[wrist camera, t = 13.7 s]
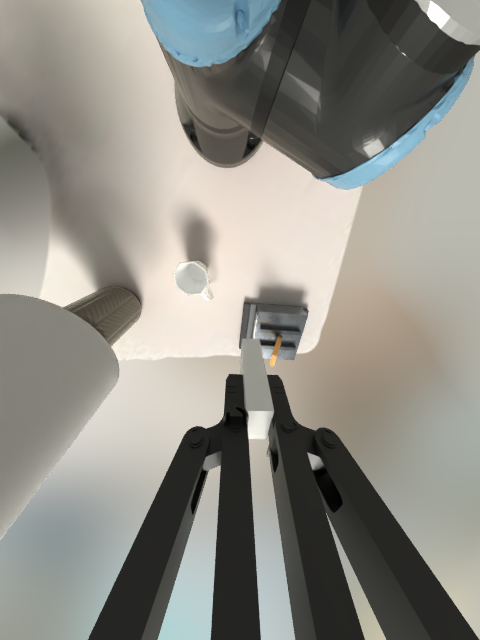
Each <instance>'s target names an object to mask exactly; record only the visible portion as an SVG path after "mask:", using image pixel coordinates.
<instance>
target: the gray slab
mask: <svg viewBox="0 0 480 640" xmlns="http://www.w3.org/2000/svg"><path fill="white" fill-rule="evenodd" d="M255 310H256V303H247V302H244V308H243V317H242V326H241V334H240V343H239V349H241V346H242V338H243V339H245V338H246V339H251V336H252V330H253V323H254V317H255ZM247 323H248V324H247Z"/></svg>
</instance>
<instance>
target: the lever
mask: <svg viewBox="0 0 480 640" xmlns="http://www.w3.org/2000/svg"><path fill="white" fill-rule="evenodd" d="M282 338H283V336H282V335H278V337H277V341H276V344H275V347H274V350H273V353H272V356H271V361H270V366H273V367H274V365H275V362H276V358H277V355H278V351H279V348H280V346H281V342H282Z"/></svg>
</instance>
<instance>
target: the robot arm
mask: <svg viewBox="0 0 480 640" xmlns="http://www.w3.org/2000/svg"><path fill="white" fill-rule="evenodd" d="M141 2H142V4H143V7H144V11H145V15H146V17H147V20H148V22H149V24H150V26H151V29H152V30H153V32H154V34H155V35H156V38H157V40H158V42H159V45H160V47H161V49H162V52H163V54H164V56H165V59H166V61H167V63H168V65H169V68H170V70H171V72H172V75H173V77H174V79H175V99H176V106H177V111H178V115H179V118H180V122H181V125H182V127H183V129H184V132H185V134H186V136H187V138H188V139H189V141H190V143H191V145H192V146H193V148H194V149H195V150H196V151H197V153H198V154H199V155H200V156H201V157H202V158H203V159H205V160H206V161H207V162H209V163H211V164H213V165H215V166H218V167H223V168H232V167H236V166H239V165H241V164H243V163H245V162H247V161H248V160H249V159H250V158H251V157H252V156H253V155H254V154H255V153H256V152H257V151H258V149H259V148H260V146H261V144H262V142H263V141H264V142H266V143H267V144H269V145H270V146H272V147H273V148H275V149H276V150H278V151H279V152H281V153H282V154H284V155H285V156H287V157H288V158H290V159H291V160H293V161H294V162H296V163H297V164H299V165H300V166H302V167H303V168H305V169H306V170H308V171H309V172H311V173H312V175H313V176H314V177H315V178H316V179H318V180H321V181H325V182H327V183H329V184H331V185H332V186H334V187H336V188H338V189H344V190H348V189H353V188H357V187H360V186H362V185H364V184H367V183H368V182H370V181H372V180H374V179H376V178H377V177H379V176H380V175H382V174H383V173H385V172H386V171H388V170H389V169H390V168H392V167H393V166H394V165H395V164H397V163H398V162H399V161H400V160H402V159H403V158H404V157H405V156H406V155H407V154H409V153H410V152H411V151H412V150H413V149H414V148H415V147H416V146H417V145H418V144H419V143H420V142H421V141H422V140H423V139H424V138H425V132H426V131H427V130H428V129H429V128H431V127H432V126H433V125H436V124H437V123H439V122H440V121H441V119H442V118H443V117H444V116H445V115H446V114H447V112H448V111H449V110H450V108H451V107H452V106H453V105H454V103H455V102H456V100H457V99H458V97H459V96H460V94H461V92H462V91H463V89H464V87H465V85H466V84H467V82H468V80H469V78H470V75H471V73H472V69H473V66H474V57H475V54H476V53H477V52H478V51H479V50H480V0H141ZM240 372H241V374H239V375H237V374H229V376H228V377H227V379H226V389H225V406H224V416H223V418H222V420H221V421H220V422H219V423H218V424H217V425H215V426H213V427H210V428H207V429H205V428H203V427H199V426H196V427H193V428H191V429H190V430H188V431H187V432H186V434H185V435H184V437H183V439H182V441H181V443H180V445H179V448H178V450H177V452H176V454H175V456H174V458H173V460H172V462H171V465H170V467H169V469H168V471H167V473H166V475H165V477H164V479H163V482H162V484H161V486H160V488H159V490H158V492H157V494H156V496H155V499H154V501H153V503H152V505H151V507H150V509H149V511H148V513H147V516H146V518H145V520H144V522H143V524H142V526H141V528H140V530H139V532H138V535H137V537H136V539H135V541H134V543H133V545H132V547H131V550H130V552H129V554H128V556H127V558H126V560H125V562H124V564H123V566H122V569H121V571H120V573H119V575H118V577H117V579H116V581H115V583H114V585H113V588H112V590H111V592H110V594H109V596H108V599H107V601H106V602H105V605H104V607H103V609H102V611H101V613H100V615H99V617H98V620H97V622H96V624H95V626H94V628H93V630H92V632H91V634H90V636H89V639H88V640H157V639H158V636H159V633H160V629H161V626H162V623H163V620H164V616H165V613H166V609H167V606H168V603H169V600H170V597H171V593H172V590H173V586H174V583H175V580H176V577H177V573H178V570H179V567H180V564H181V560H182V557H183V554H184V550H185V547H186V544H187V541H188V537H189V534H190V531H191V527H192V524H193V521H194V518H195V514H196V511H197V508H198V504H199V501H200V498H201V495H202V491H203V488H204V485H205V481H206V478H207V474H208V471H209V470H210V469H212V468H215V467H217V466H219V465H221V472H220V490H219V506H218V507H219V508H218V525H217V542H216V559H215V578H214V593H213V611H212V628H211V629H212V630H211V640H261V636H260V620H259V603H258V588H257V571H256V555H255V539H254V523H253V507H252V491H251V474H250V460H249V459H250V458H249V441H248V439H267V437H268V436H269V447H268V451H267V457H270V464H271V471H272V478H273V485H274V492H275V499H276V506H277V513H278V520H279V527H280V534H281V541H282V548H283V555H284V562H285V569H286V577H287V584H288V591H289V598H290V604H291V611H292V619H293V626H294V631H295V632H294V633H295V640H365V639H364V636H363V632H362V629H361V626H360V623H359V619H358V616H357V613H356V609H355V607H354V603H353V600H352V597H351V593H350V590H349V587H348V583H347V580H346V577H345V574H344V570H343V567H342V564H341V561H340V558H339V555H338V551H337V548H336V544H335V541H334V538H333V535H332V531H331V528H330V525H329V522H328V519H327V515H328V517H329V519H330V521H331V524H332V526H333V527H334V530H335V532H336V534H337V536H338V538H339V540H340V542H341V544H342V546H343V549H344V551H345V553H346V555H347V557H348V559H349V561H350V564H351V566H352V568H353V570H354V572H355V574H356V576H357V578H358V580H359V582H360V585H361V587H362V589H363V591H364V593H365V595H366V597H367V599H368V601H369V604H370V606H371V608H372V610H373V612H374V614H375V616H376V618H377V620H378V622H379V625H380V627H381V629H382V631H383V633H384V635H385V637H386V639H387V640H479V639H478V637H477V636H476V634H475V633H474V631H473V630H472V628H471V627H470V626H469V624H468V623H467V621H466V620H465V618H464V617H463V616H462V614H461V613H460V611H459V610H458V608H457V607H456V605H455V604H454V603H453V601H452V600H451V598H450V597H449V595H448V594H447V592H446V591H445V590H444V588H443V587H442V585H441V584H440V582H439V581H438V580H437V578H436V577H435V575H434V574H433V573H432V571H431V570H430V568H429V567H428V565H427V564H426V562H425V561H424V560H423V558H422V557H421V555H420V554H419V552H418V551H417V549H416V548H415V547H414V545H413V544H412V542H411V541H410V539H409V538H408V537H407V535H406V534H405V532H404V531H403V529H402V528H401V526H400V525H399V523H398V522H397V521H396V519H395V518H394V516H393V515H392V514H391V512H390V510H389V509H388V508H387V506H386V505H385V503H384V502H383V500H382V499H381V497H380V496H379V495H378V493H377V492H376V491H375V489H374V487H373V486H372V485H371V483H370V482H369V480H368V479H367V477H366V476H365V474H364V473H363V472H362V470H361V469H360V467H359V466H358V464H357V463H356V461H355V460H354V459H353V457H352V456H351V454H350V453H349V451H348V450H347V448H346V447H345V446H344V444H343V443H342V441H341V440H340V438H339V437H338V436H337V435H336V434H335V433H334V432H333V431H331V430H330V429H327V428H319V429H317V430H316V431H315V430H312V429H309V428H306V427H304V426H302V425H300V424H299V423H298V422H297V421H296V420H295V419H294V417H293V415H292V413H291V410H290V406H289V403H288V399H287V396H286V392H285V389H284V385H283V382H282V380H281V379H280V377H279V376H278V375H267V374H266V369H265V364H264V359H263V354H262V349H261V344H260V339H243V338H242V346H241V358H240ZM325 511H326V512H325ZM326 513H327V515H326Z"/></svg>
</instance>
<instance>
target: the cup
mask: <svg viewBox="0 0 480 640" xmlns="http://www.w3.org/2000/svg"><path fill="white" fill-rule="evenodd" d="M173 277H174V280H175V284H176V287H177V288H178V289H179V290H181V291H182V292H184V293H185V294H187V295H188V296H189V295H199V294H201V295H202V296H203V298H204V299H205V300H207V301H209V300H211V299H213V294H212V291H211V289H210V286H209V278H208V272H207V267H206V265H205V264H204V263H202V262H201V261H190V262H183V263H180V264H179V265H178V267H177V268H176V270H175V272H174V273H173ZM206 288H207V290H208V293H209V296H210V298H209V297H208V296H207V295H206V293H205V292H204V290H205V289H206Z"/></svg>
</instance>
